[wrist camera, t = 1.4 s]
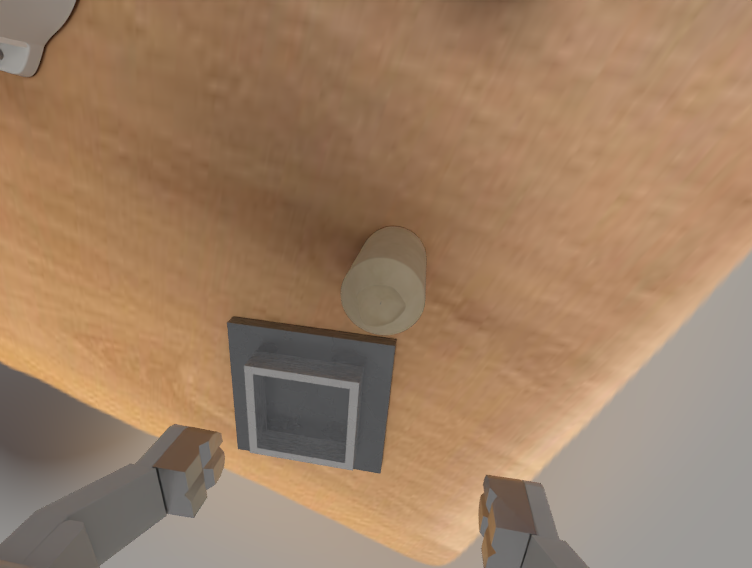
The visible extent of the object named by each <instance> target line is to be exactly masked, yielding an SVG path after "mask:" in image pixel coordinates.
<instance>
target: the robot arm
mask: <svg viewBox="0 0 752 568" xmlns="http://www.w3.org/2000/svg"><path fill="white" fill-rule="evenodd" d="M75 2H76V0H0V70H1V71H4V72H8V73H11V74H15V75H19V76H23V77H31V76H32V75H34V74H35V72H36V70H37V68H38V66H39V63H40V60H41V56H42V53H43V49H44V46H45V44H46V43H47V41H48V40H49V39H50V38H51V37H52V36H53V35H54V34H55V33H56V32H57V31H58V30H59V29H60V28H61V27H62V25H63V24H64V23H65V21H66V20H67V19H68V17H69V15H70V13H71V11H72V9H73V7H74V5H75ZM3 54H4V55H3ZM222 442H223V441H222V435H221V433H219V432H216V431H210V430H205V429H200V428H195V427H188V426H183V425H177V424H174V425H172V426H170V427H169V428H168V429H167V430H166V431H165V432H164V433H163V434H162V435H161V437H160V438H159V439H158V440H157V441H156V442H155V443H154V444H153V445H152V446H151V447H150V448H149V449H148V451H147V452H146V453H145V454H144V455H143V456H142V457H141V458H140V459H139V460H138V462H136V464H129V465H127V466H125V467H123V468H121V469H119V470H117V471H115V472H113V473H111V474H109V475H107V476H105V477H103V478H101V479H99V480H97V481H95V482H93V483H91V484H89V485H87V486H85V487H83V488H81V489H79V490H77V491H75V492H73V493H71V494H69V495H67V496H65V497H63V498H61V499H59V500H57V501H55V502H53V503H51V504H49V505H47V506H45V507H43V508H41V509H39V510H37V511H35V512H34V513H33V514H32V515H31V516H30V517H29V518H28V519H27V520H26V521H25V522H24V523H22V524H21V525H20V526H19V527H18V528H17V529H16V530H15V531H14V532H13V533H12V534H11V535H10V536H9V537H8V538H6V539H5V540H4V541H3V542H2V543H1V544H0V568H100V567H99V566H100V565H101V564H103V563H104V562H105V561H107V560H108V559H109V558H111V557H112V556H113V555H114V554H116V553H117V552H119V551H120V550H121V549H123V548H124V547H125V546H127V545H128V544H129V543H131V542H132V541H133V540H135V539H136V538H137V537H138V536H140V535H141V534H142V533H144V532H145V531H147V530H148V529H149V528H151V527H152V526H153V525H154V524H155V523H157V522H159V521H160V520H161V519H163V518H164V517H165V516H166V514H172V515H179V516H185V517H191V518H194V517H195V515H196V514H197V512H198V511H199V509H200V508H201V506H202V505H203V503H204V501H205V500H206V498H207V492H206V490H207V489H209V488H210V487H212V486H214V485H215V484H216V483H217V481H218V479H219V478H220V476H221V473H222V470H223V468H224V462H225V455H224V451H223V450H222V449H221V448H220V447H219V446H220V444H221V443H222ZM483 486H484V493H483V494H482V495H481V497H480V502H479V530H480V533H481V534H482V536H483V537H484V539H483V543H482V548H481V549H482V558H483V567H484V568H589V567H588V566H587V565H586V564H585V562H584V561H583V560H582V559H581V558H580V557H579V556H578V555H577V553H576V552H575V551H574V550H573V549H572V548H571V547H570V546H569V544H568V543H567V542H566V541H563V540H559V536H558V533H557V530H556V527H555V523H554V520H553V517H552V513H551V510H550V507H549V504H548V501H547V497H546V494H545V491H544V487H543V486H542V484H541V483H537V482H531V481H524V480H522V481H521V480H519V479H512V478H505V477H498V476H492V475H486V476H485V479H484V483H483Z"/></svg>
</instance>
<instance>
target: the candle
mask: <svg viewBox="0 0 752 568" xmlns="http://www.w3.org/2000/svg"><path fill="white" fill-rule="evenodd" d="M425 291H426V251H425V248H424V246H423V244H422V242H421V240H420V239H419V238H418V237H417V236H416V235H415V234H414V233H413V232H411V231H410V230H408V229H405V228H402V227H397V226H390V227H385V228H382V229H380V230H378V231H376V232H374V233H373V234H372V235H371V236H370V237H369V238H368V239H367V241H366V242H365V244H364V245H363V247H362V249H361V250H360V252H359V254H358V256H357V257H356V259H355V261H354V263H353V264H352V266H351V268H350V269H349V271H348V273H347V275H346V276H345V278H344V280H343V283H342V287H341V302H342V306H343V308H344V311H345V312H346V314H347V316H348V317H349V318H350V320H351V321H352V322H353V323H354V324H356V325H357V326H358V327H360V328H361V329H363V330H365V331H367V332H370V333H373V334H378V335H393V334H397V333H400V332H403V331H405V330H407V329H408V328H410V327H411V326H412V325H414V324H415V323H416V321H417V320H418V319H419V317H420V316H421V314H422V312H423V309H424V305H425Z"/></svg>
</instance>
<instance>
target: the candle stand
mask: <svg viewBox="0 0 752 568" xmlns="http://www.w3.org/2000/svg"><path fill="white" fill-rule="evenodd" d="M227 327H228V339H229V350H230V362H231V373H232V385H233V397H234V408H235V420H236V431H237V443H238V449H242V450H248V451H250V453H255V454H261V455H267V456H272V457H278V458H284V459H290V460H295V461H301V462H307V463H313V464H318V465H324V466H330V467H336V468H341V469H347V470H353V469H357V470H363V471H369V472H374V473H381V466H382V458H383V449H384V441H385V432H386V424H387V415H388V407H389V398H390V389H391V381H392V372H393V364H394V355H395V346H396V339H390V338H383V337H376V336H369V335H362V334H354V333H347V332H340V331H333V330H326V329H319V328H311V327H304V326H297V325H290V324H283V323H275V322H268V321H261V320H254V319H247V318H240V317H232V318H231V319H230V320H229V321H228V322H227Z"/></svg>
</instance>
